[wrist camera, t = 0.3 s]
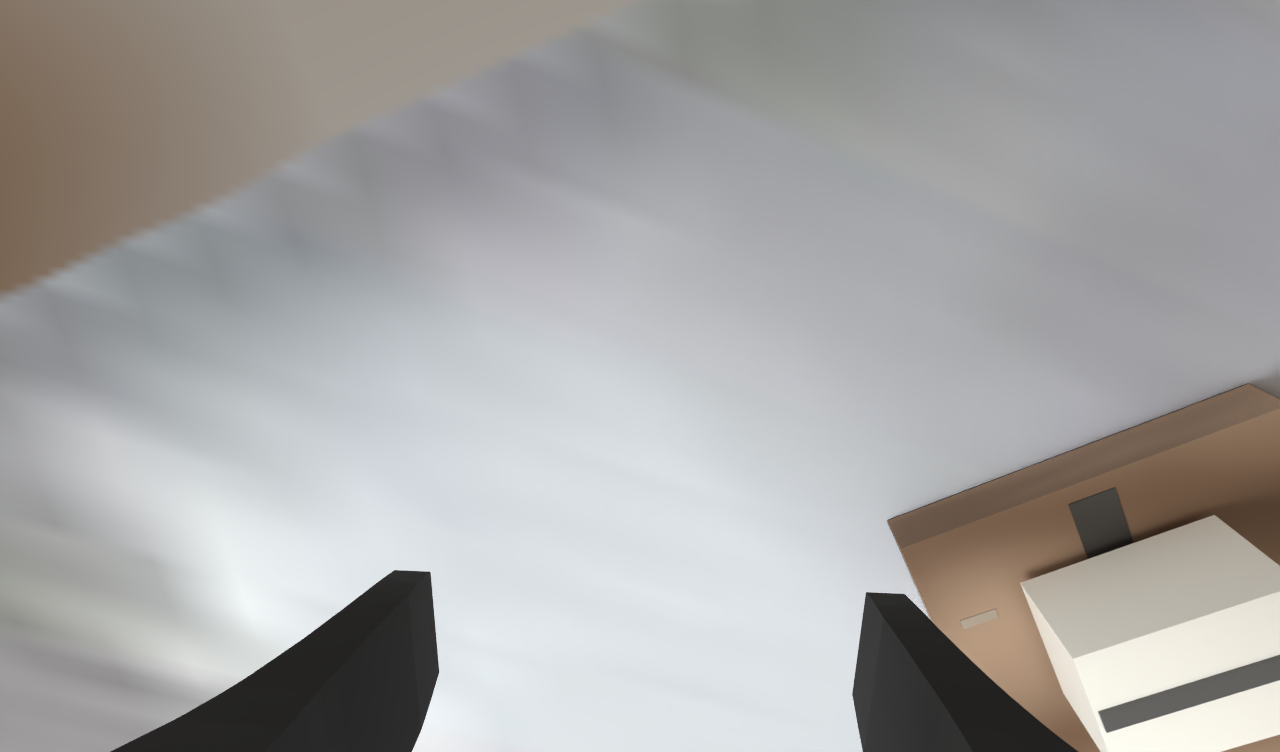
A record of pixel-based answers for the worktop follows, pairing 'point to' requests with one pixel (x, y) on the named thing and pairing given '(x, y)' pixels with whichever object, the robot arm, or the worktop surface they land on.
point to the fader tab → (1167, 640)
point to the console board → (1088, 532)
